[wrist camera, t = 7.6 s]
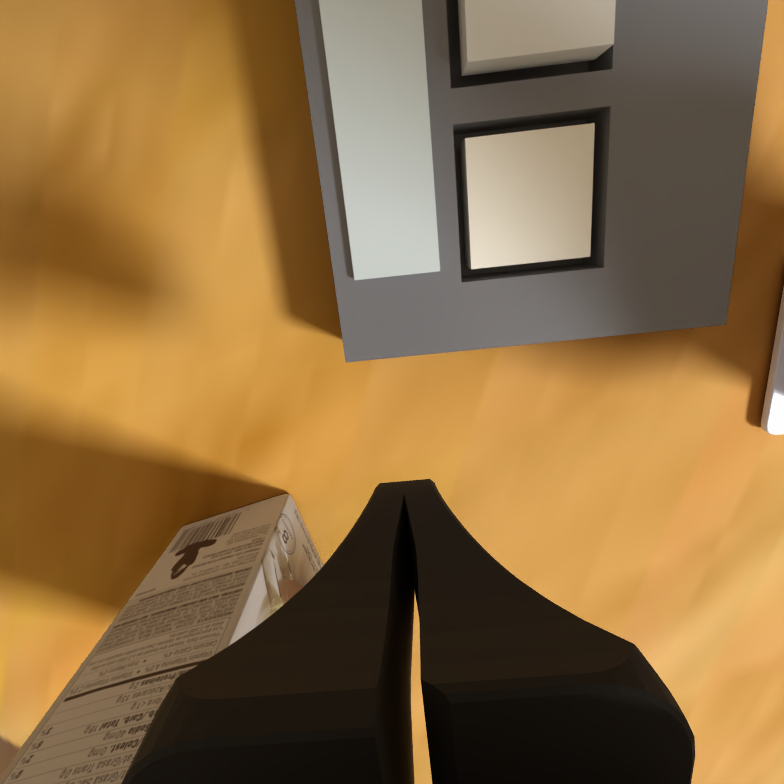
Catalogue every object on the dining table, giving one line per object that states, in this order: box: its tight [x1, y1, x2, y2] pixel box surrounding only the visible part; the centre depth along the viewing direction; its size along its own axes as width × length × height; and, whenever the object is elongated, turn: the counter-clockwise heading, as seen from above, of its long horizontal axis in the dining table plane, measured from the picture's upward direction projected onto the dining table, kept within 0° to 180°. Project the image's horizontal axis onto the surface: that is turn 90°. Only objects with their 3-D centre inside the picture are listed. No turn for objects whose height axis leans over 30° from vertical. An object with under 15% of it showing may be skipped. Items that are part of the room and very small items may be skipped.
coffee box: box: [0, 494, 323, 784], centre depth 17 cm, size 9×6×16 cm
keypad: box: [294, 0, 768, 362], centre depth 15 cm, size 14×22×3 cm, turn 6°
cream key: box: [460, 123, 595, 269], centre depth 17 cm, size 4×4×1 cm
